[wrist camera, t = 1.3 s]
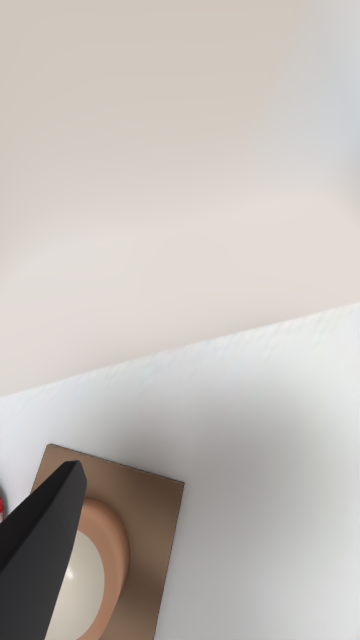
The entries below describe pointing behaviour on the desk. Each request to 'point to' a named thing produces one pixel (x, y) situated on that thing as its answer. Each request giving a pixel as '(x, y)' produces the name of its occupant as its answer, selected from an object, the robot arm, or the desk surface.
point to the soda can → (1, 511)
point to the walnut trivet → (130, 533)
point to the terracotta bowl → (92, 575)
